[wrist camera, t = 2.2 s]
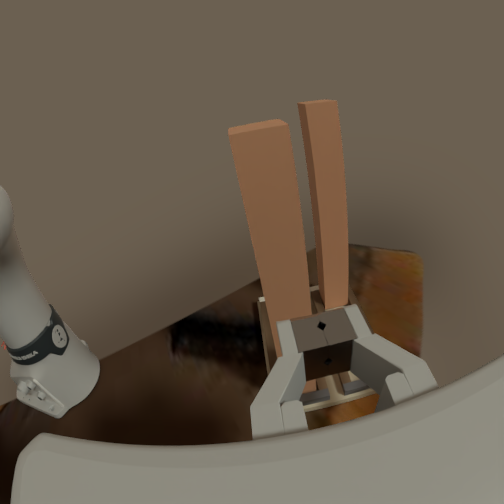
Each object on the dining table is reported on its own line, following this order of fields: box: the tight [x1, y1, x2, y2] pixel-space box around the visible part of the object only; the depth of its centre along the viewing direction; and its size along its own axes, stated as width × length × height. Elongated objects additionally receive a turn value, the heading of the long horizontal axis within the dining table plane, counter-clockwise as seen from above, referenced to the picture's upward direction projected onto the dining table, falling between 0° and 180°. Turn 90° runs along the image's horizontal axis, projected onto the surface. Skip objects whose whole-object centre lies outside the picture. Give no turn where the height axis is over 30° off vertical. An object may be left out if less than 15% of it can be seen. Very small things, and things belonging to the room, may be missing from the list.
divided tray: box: [257, 284, 376, 412], centre depth 43 cm, size 17×23×2 cm
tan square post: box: [297, 100, 348, 310], centre depth 41 cm, size 4×4×32 cm
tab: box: [228, 119, 316, 394], centre depth 28 cm, size 4×4×32 cm
